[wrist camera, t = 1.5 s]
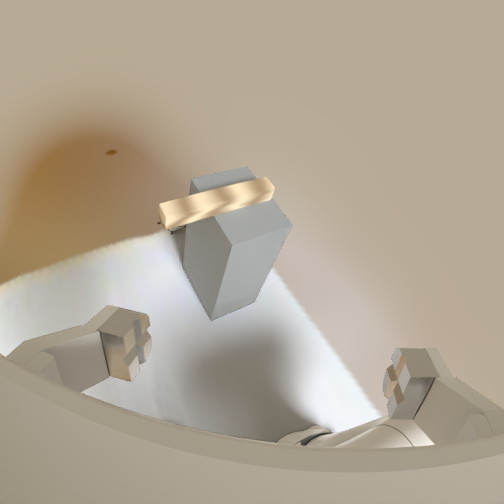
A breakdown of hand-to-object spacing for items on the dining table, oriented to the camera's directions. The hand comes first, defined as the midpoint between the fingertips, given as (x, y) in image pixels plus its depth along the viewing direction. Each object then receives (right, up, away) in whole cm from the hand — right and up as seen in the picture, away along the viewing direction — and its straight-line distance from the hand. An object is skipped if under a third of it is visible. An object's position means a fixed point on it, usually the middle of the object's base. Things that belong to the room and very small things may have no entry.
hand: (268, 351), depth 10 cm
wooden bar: (-6, +11, +44) cm, 45 cm away
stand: (-9, -5, +69) cm, 70 cm away
